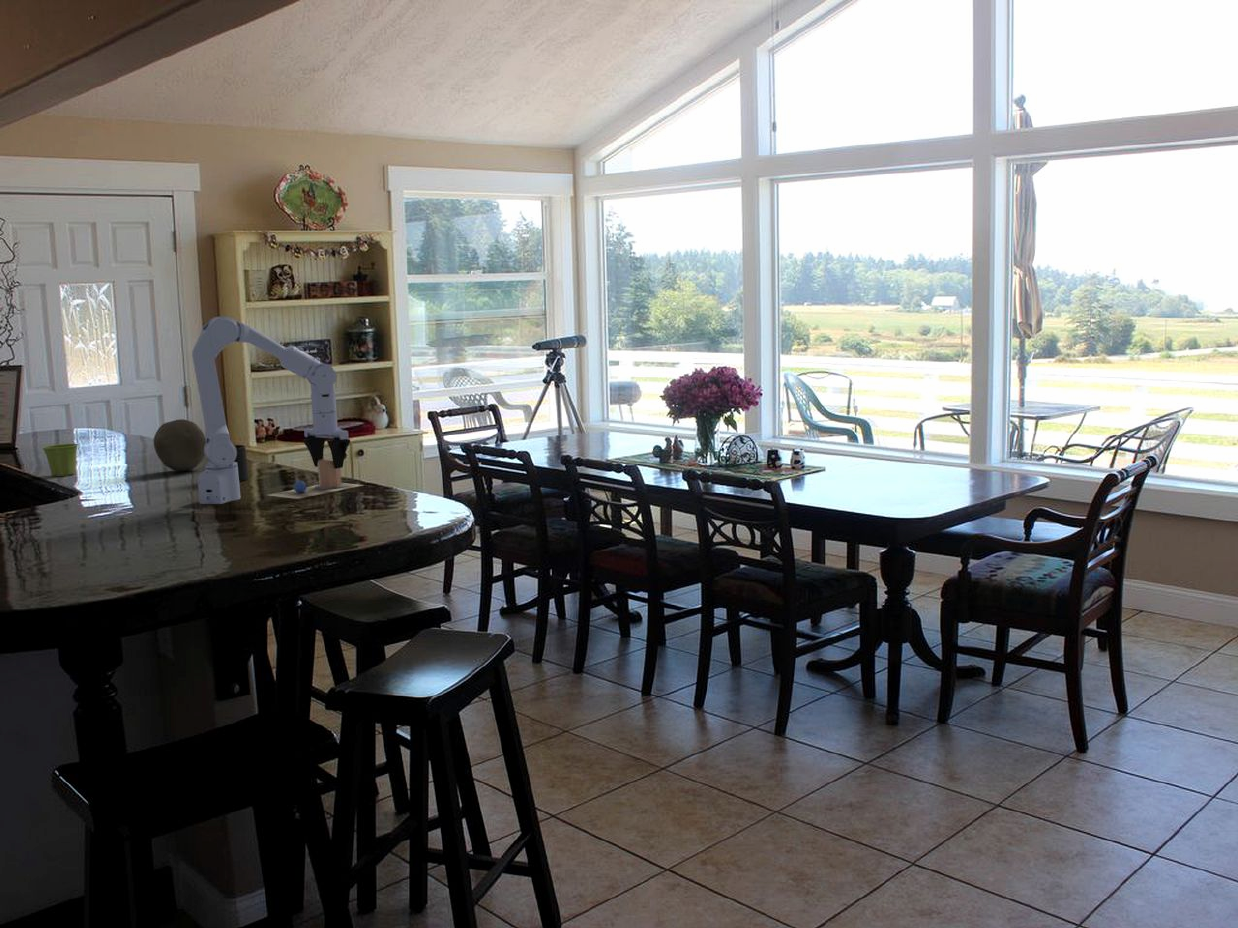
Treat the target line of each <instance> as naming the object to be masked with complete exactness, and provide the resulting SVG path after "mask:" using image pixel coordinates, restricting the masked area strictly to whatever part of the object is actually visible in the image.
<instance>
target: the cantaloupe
mask: <svg viewBox="0 0 1238 928" xmlns="http://www.w3.org/2000/svg"><path fill="white" fill-rule="evenodd" d="M205 443H206V436H205V432H203V430H202V428H200V426H199V425H198V424H197V423H195V422H193V421H190V420H187V419H182V418H181V419H175V420H172V421H168V422H165V423H163V424H161V425H160V426H159V427H158V429H157V430H156V432H155V434H154V436H153V447H154V451H155V453H156V455H157V457H158V458H159V460H160V461H161V463H162V464H163V465H164V466H166V467H167V468H169V469H170V470H171V471H172V470H173V471H175V472H176V471H177V472H188V471H191V470H194V469H195V468H196V467H198V466H199V465H200V464H201V463H202V462H203V460H204V459H205V457H206V456H205V453H204V446H205Z"/></svg>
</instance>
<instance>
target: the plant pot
mask: <svg viewBox="0 0 1238 928" xmlns="http://www.w3.org/2000/svg"><path fill="white" fill-rule="evenodd" d="M78 446H79V443H61V444H60V443H59V444H54V445H47V446H42V448H41V449H43V450H44V453H45V455H46V458H47V462H48V466H49V469H50V473H51V476H52V477H68V476H70V475H71V476H72V475H73V476H74V475H76V464H77V463H76V462H77V461H76V459H77V457H76V455H77V450H78Z"/></svg>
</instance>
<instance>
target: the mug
mask: <svg viewBox="0 0 1238 928" xmlns="http://www.w3.org/2000/svg"><path fill="white" fill-rule="evenodd" d="M233 445H234V446H235V447H236V450H237V456H236V459H235V461H234V462H237V465H238V475H239V483H240V482H245V481H247V480H249V472H248V460H247V449H246V446H245V445H242V444H241V445H240V444H233Z"/></svg>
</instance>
